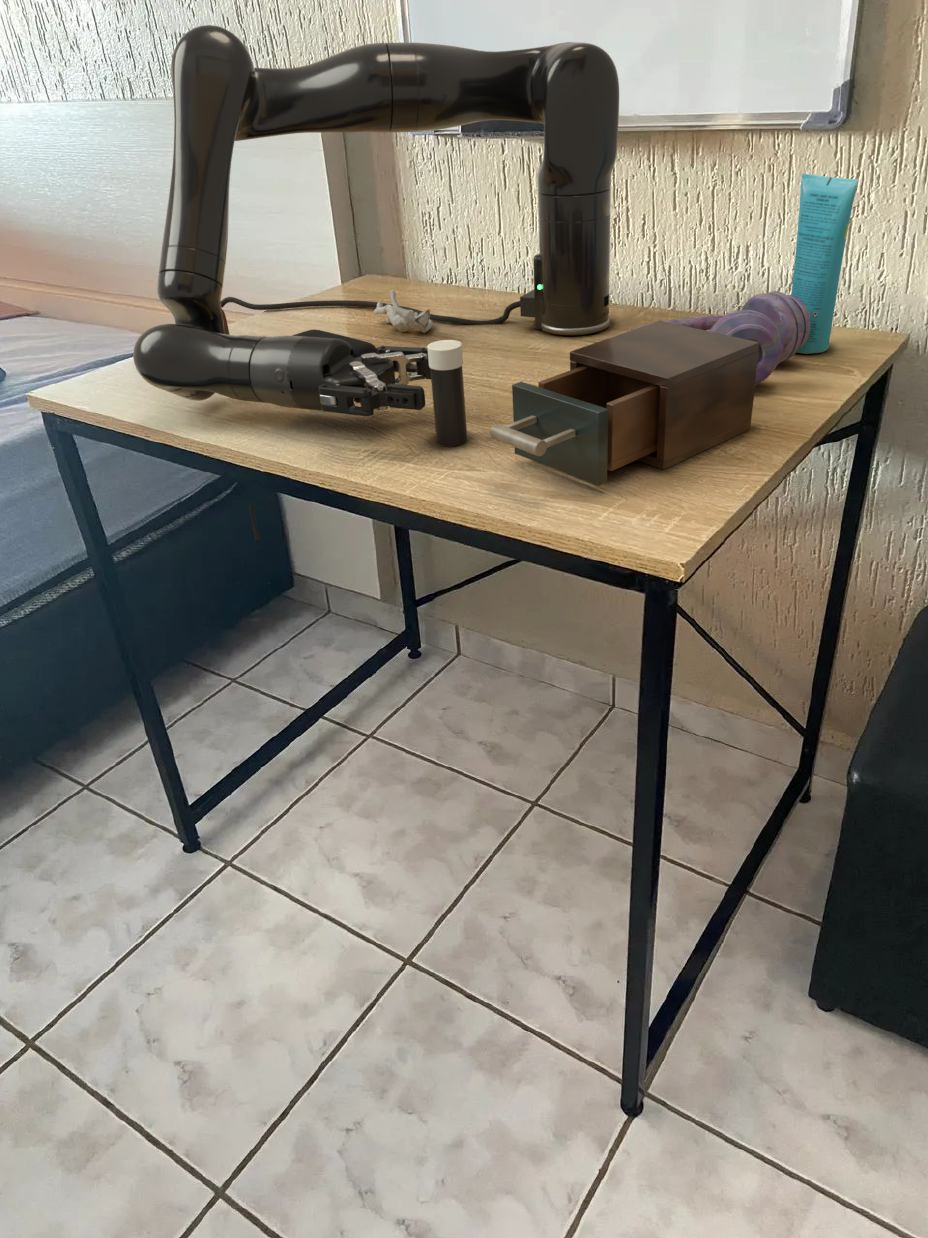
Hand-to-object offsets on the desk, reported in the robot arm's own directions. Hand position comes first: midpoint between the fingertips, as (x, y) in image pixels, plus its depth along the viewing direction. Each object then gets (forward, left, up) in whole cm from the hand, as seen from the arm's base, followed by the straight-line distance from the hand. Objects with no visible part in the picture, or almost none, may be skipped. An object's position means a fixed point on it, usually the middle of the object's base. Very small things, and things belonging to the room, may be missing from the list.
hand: (441, 383), depth 95 cm
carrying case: (-28, +15, -6) cm, 33 cm away
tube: (+27, +41, -6) cm, 49 cm away
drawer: (+16, -1, -5) cm, 17 cm away
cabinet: (+20, +10, -6) cm, 23 cm away
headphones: (+18, +30, -6) cm, 35 cm away
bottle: (+1, 0, -6) cm, 6 cm away
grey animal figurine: (-26, +32, -6) cm, 42 cm away
